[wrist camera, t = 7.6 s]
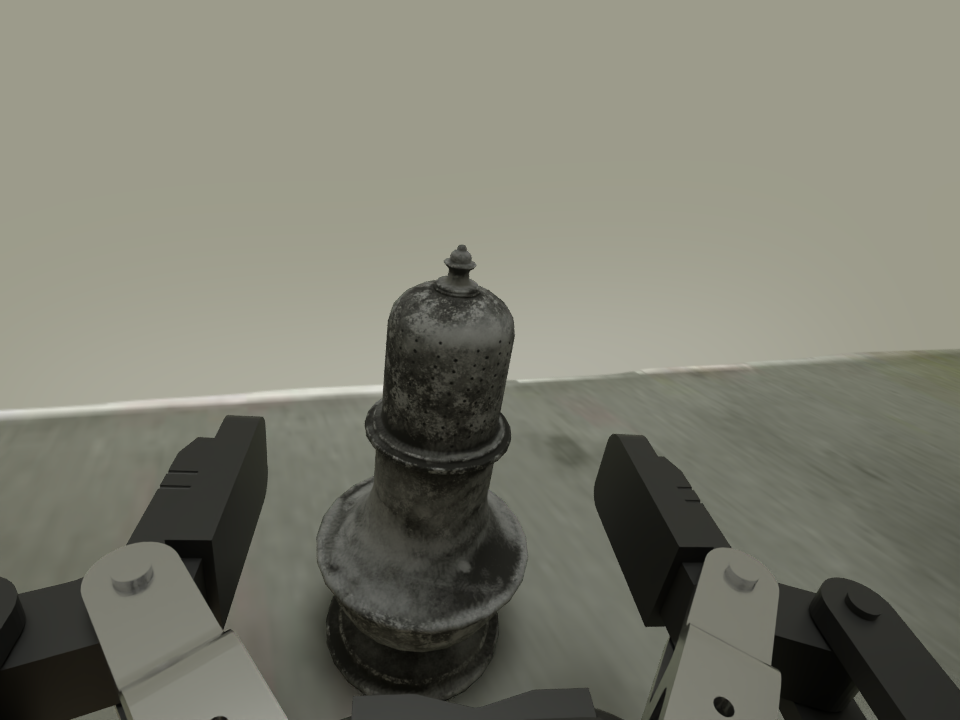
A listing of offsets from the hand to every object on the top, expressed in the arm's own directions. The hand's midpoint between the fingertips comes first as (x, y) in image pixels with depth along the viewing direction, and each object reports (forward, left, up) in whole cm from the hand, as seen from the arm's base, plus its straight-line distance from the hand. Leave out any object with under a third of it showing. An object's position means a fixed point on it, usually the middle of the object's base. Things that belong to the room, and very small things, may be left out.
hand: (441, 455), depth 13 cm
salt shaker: (0, -1, -7) cm, 7 cm away
